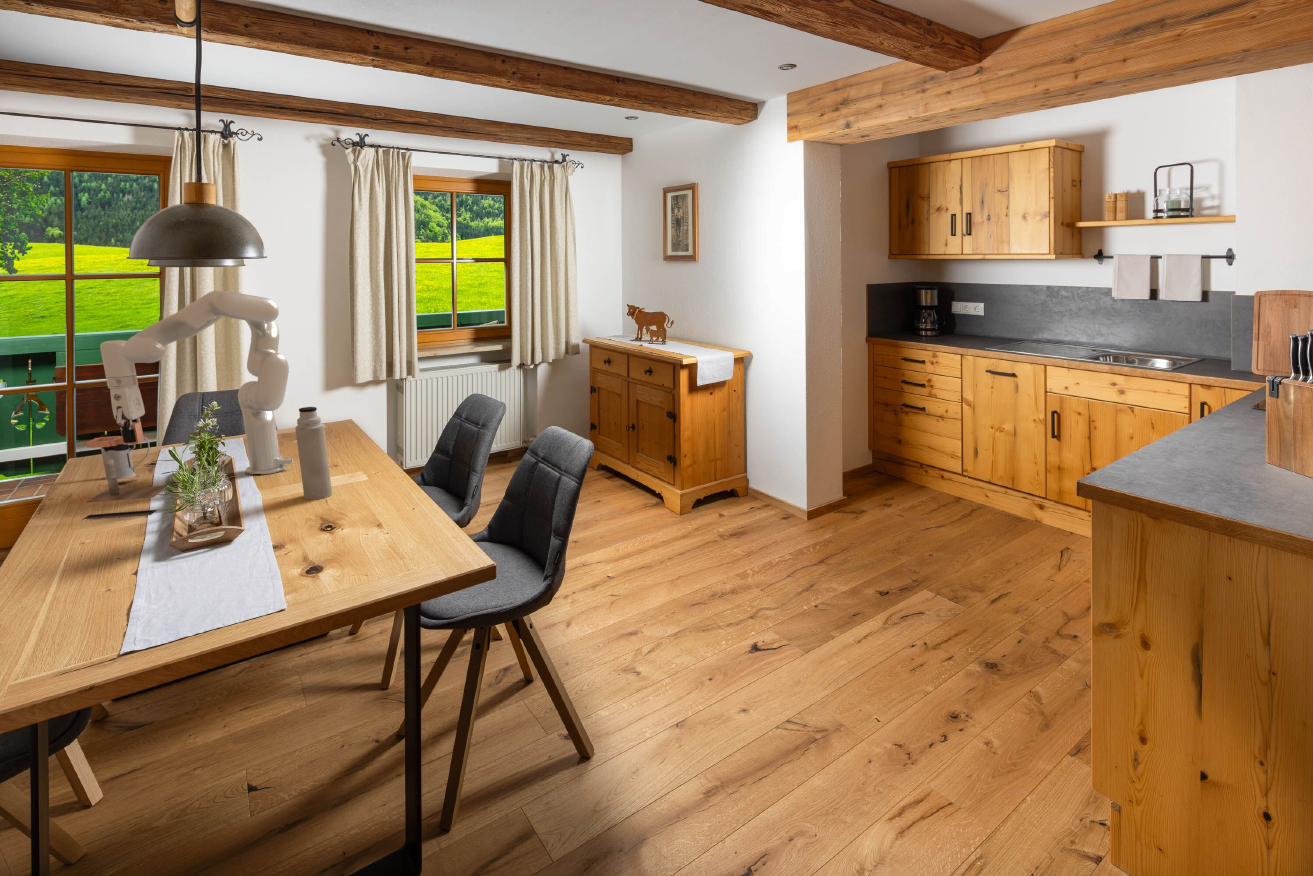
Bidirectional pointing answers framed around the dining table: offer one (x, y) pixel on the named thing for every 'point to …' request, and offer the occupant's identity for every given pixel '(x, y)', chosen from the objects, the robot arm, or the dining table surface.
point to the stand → (123, 494)
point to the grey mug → (120, 458)
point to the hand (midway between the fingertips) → (133, 440)
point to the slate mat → (120, 514)
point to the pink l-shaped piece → (117, 438)
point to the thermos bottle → (313, 455)
